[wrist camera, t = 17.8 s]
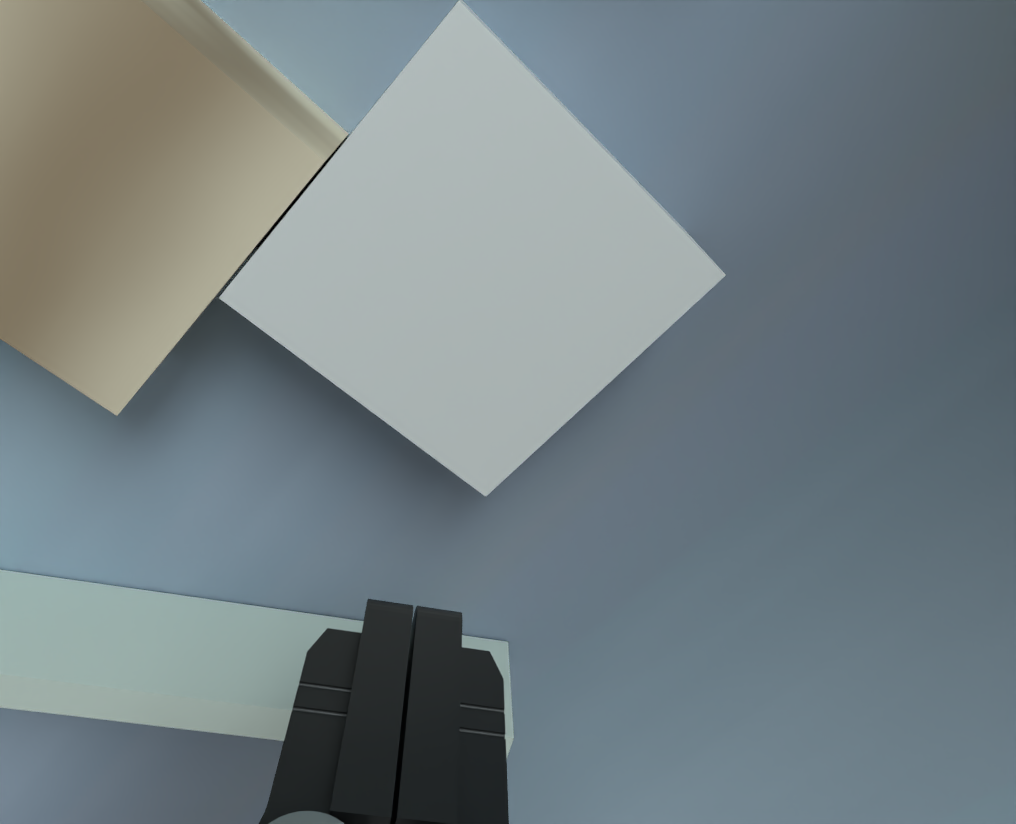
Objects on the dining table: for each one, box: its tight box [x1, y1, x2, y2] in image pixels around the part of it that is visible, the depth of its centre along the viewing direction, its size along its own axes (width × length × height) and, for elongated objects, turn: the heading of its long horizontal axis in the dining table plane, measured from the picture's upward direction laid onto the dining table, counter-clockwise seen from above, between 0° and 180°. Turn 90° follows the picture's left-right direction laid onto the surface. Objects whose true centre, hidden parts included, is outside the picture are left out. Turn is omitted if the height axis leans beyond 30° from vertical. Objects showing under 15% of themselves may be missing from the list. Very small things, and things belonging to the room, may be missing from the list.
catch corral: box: [0, 570, 514, 760], centre depth 14 cm, size 21×18×3 cm
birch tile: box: [0, 0, 348, 416], centre depth 13 cm, size 6×6×3 cm
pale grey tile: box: [219, 0, 726, 497], centre depth 14 cm, size 6×6×3 cm
